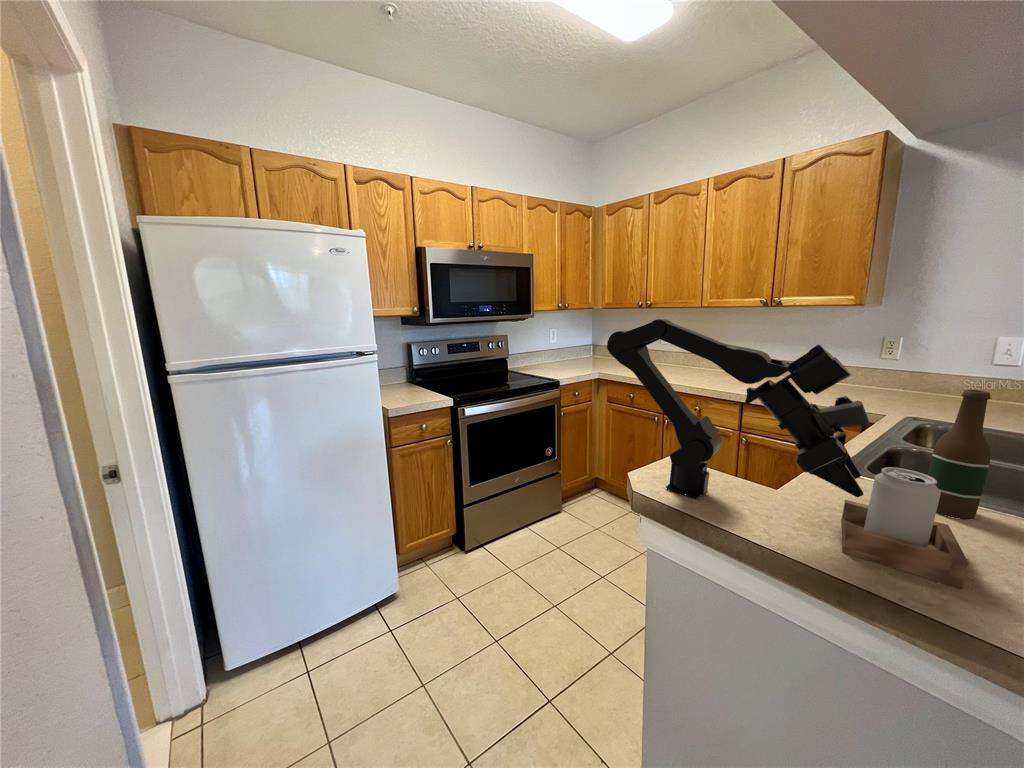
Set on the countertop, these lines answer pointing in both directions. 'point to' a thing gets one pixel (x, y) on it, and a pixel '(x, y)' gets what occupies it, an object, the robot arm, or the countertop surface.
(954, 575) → the brown wooden square tray
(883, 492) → the can
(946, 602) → the countertop surface
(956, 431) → the beer bottle
